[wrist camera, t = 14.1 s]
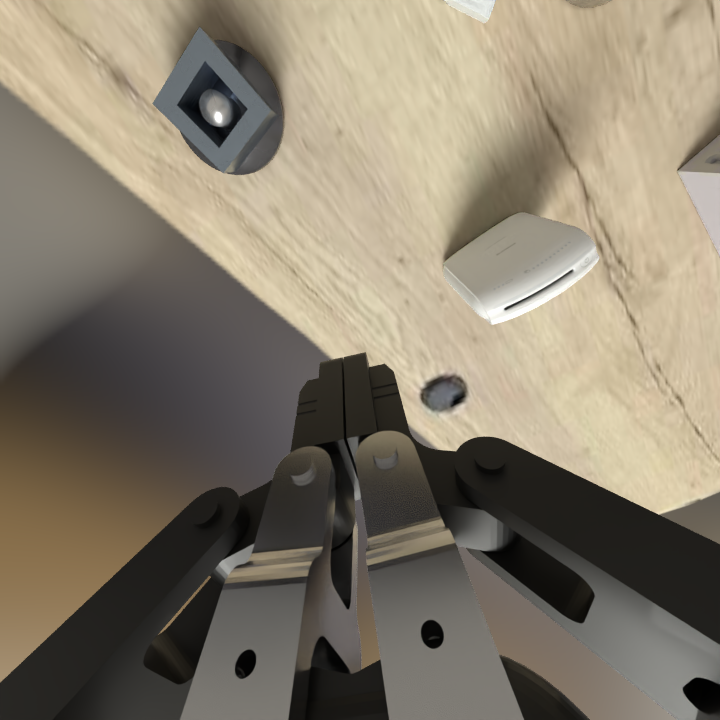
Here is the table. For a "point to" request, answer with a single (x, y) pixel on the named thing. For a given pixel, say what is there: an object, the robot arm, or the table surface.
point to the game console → (705, 187)
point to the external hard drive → (474, 8)
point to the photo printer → (519, 265)
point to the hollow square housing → (182, 103)
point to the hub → (241, 110)
